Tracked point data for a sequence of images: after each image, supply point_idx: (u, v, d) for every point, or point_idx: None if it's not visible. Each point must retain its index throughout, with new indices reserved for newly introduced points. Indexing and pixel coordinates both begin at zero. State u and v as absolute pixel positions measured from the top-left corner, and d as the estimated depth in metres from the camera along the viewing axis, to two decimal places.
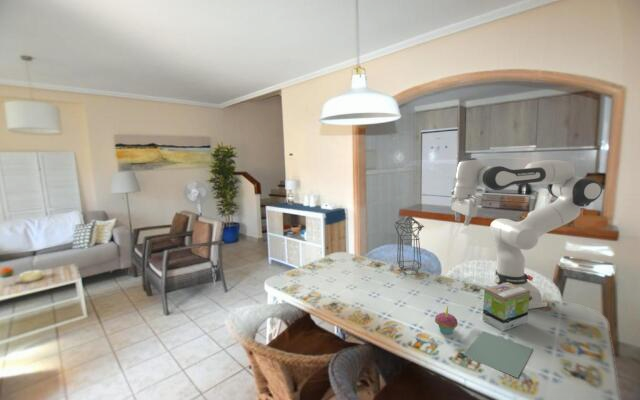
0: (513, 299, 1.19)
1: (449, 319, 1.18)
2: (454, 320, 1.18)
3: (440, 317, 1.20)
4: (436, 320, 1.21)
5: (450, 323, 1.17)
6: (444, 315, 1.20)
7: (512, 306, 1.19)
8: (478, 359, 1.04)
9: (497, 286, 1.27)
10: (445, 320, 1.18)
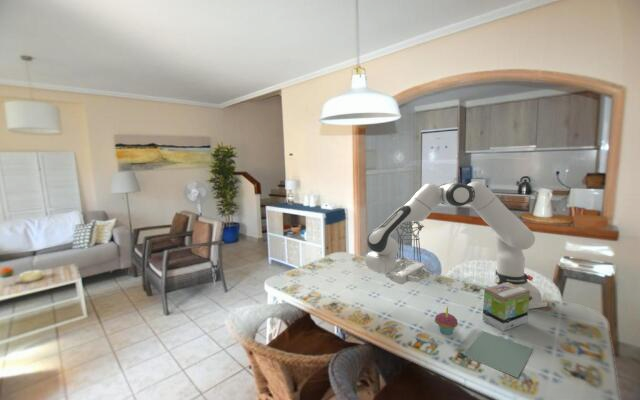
0: (513, 299, 1.19)
1: (449, 319, 1.18)
2: (454, 320, 1.18)
3: (440, 317, 1.20)
4: (436, 320, 1.21)
5: (450, 323, 1.17)
6: (444, 315, 1.20)
7: (512, 306, 1.19)
8: (478, 359, 1.04)
9: (497, 286, 1.27)
10: (445, 320, 1.18)
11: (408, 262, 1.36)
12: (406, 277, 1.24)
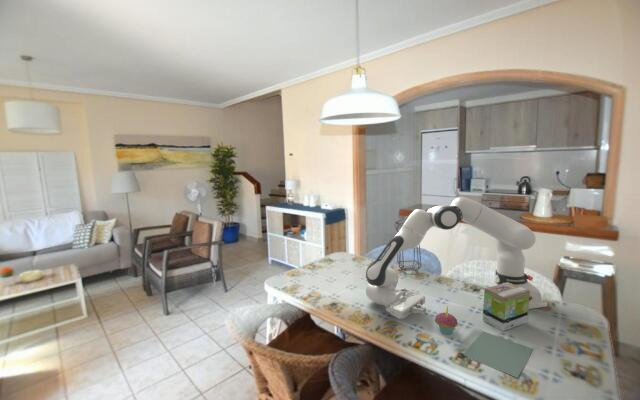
0: (513, 299, 1.19)
1: (449, 319, 1.18)
2: (454, 320, 1.18)
3: (440, 317, 1.20)
4: (436, 320, 1.21)
5: (450, 323, 1.17)
6: (444, 315, 1.20)
7: (512, 306, 1.19)
8: (478, 359, 1.04)
9: (497, 286, 1.27)
10: (445, 320, 1.18)
11: (408, 294, 1.38)
12: (406, 312, 1.26)
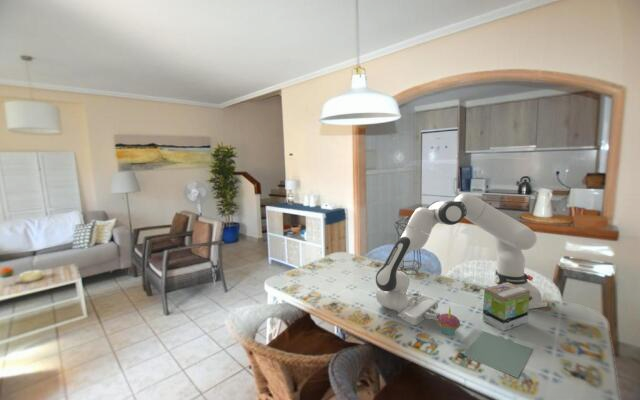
0: (513, 299, 1.19)
1: (451, 320, 1.17)
2: (456, 321, 1.17)
3: (443, 318, 1.19)
4: (438, 321, 1.20)
5: (453, 324, 1.16)
6: (446, 316, 1.20)
7: (512, 306, 1.19)
8: (478, 359, 1.04)
9: (497, 286, 1.26)
10: (448, 320, 1.17)
11: (420, 298, 1.34)
12: (419, 317, 1.22)
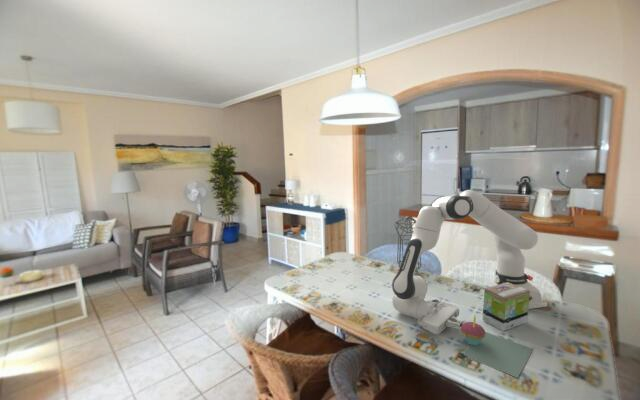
0: (513, 299, 1.19)
1: (477, 329, 1.11)
2: (482, 330, 1.11)
3: (467, 327, 1.12)
4: (462, 330, 1.13)
5: (478, 333, 1.10)
6: (471, 325, 1.13)
7: (512, 306, 1.19)
8: (478, 359, 1.04)
9: (497, 286, 1.27)
10: (473, 330, 1.11)
11: (440, 305, 1.27)
12: (441, 326, 1.15)
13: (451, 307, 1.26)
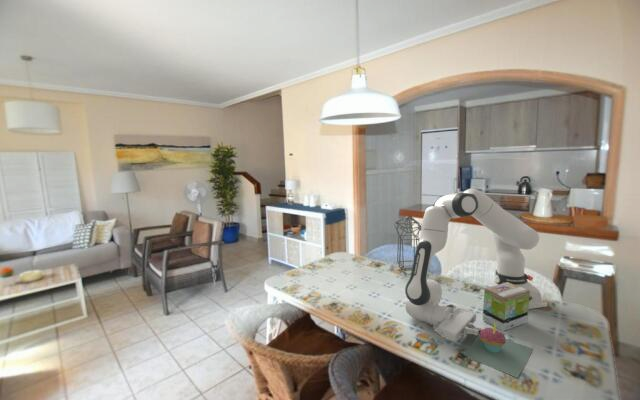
0: (513, 299, 1.19)
1: (498, 335, 1.06)
2: (502, 336, 1.07)
3: (487, 334, 1.07)
4: (483, 338, 1.08)
5: (500, 340, 1.05)
6: (490, 331, 1.08)
7: (512, 306, 1.19)
8: (478, 359, 1.04)
9: (497, 286, 1.27)
10: (494, 337, 1.06)
11: (456, 311, 1.22)
12: (459, 333, 1.10)
13: (467, 313, 1.21)
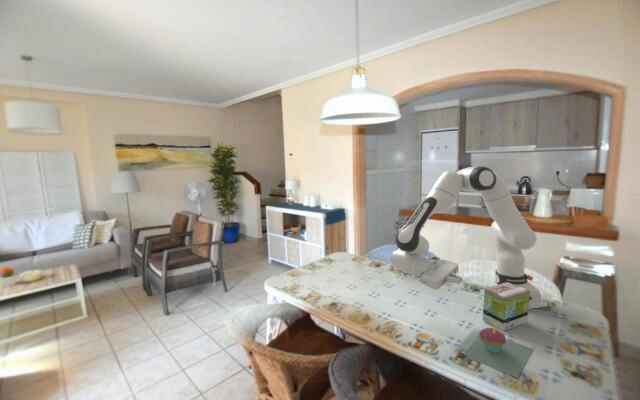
0: (513, 299, 1.19)
1: (498, 335, 1.06)
2: (502, 336, 1.07)
3: (487, 334, 1.07)
4: (483, 338, 1.08)
5: (500, 340, 1.05)
6: (490, 331, 1.08)
7: (512, 306, 1.19)
8: (478, 359, 1.04)
9: (497, 286, 1.27)
10: (494, 337, 1.06)
11: (440, 262, 1.26)
12: (441, 282, 1.14)
13: (451, 264, 1.25)
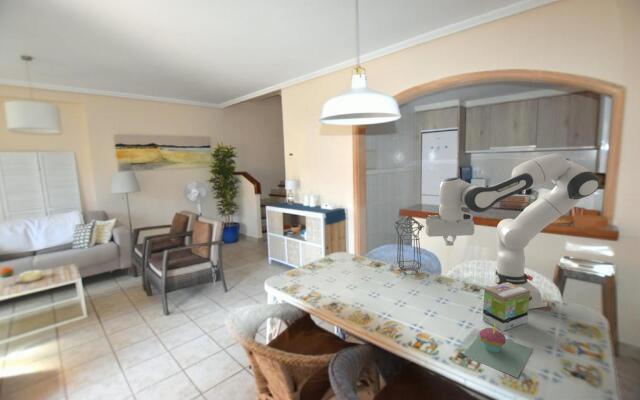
0: (513, 299, 1.19)
1: (498, 335, 1.06)
2: (502, 336, 1.07)
3: (487, 334, 1.07)
4: (483, 338, 1.08)
5: (500, 340, 1.05)
6: (490, 331, 1.08)
7: (512, 306, 1.19)
8: (478, 359, 1.04)
9: (497, 286, 1.27)
10: (494, 337, 1.06)
11: (463, 222, 1.28)
12: None
13: (469, 230, 1.29)
